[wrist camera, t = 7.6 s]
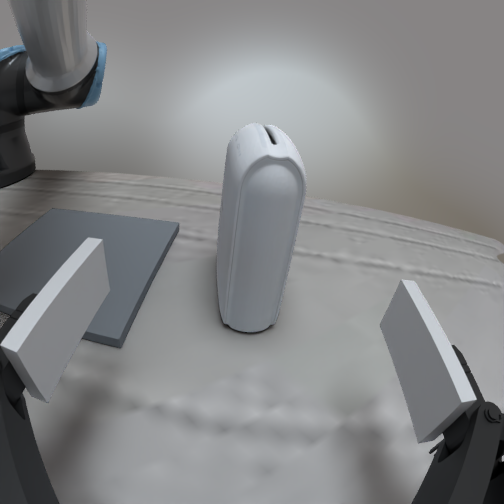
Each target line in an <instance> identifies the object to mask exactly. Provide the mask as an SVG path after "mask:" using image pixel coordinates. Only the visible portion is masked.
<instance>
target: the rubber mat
mask: <svg viewBox="0 0 504 504" xmlns="http://www.w3.org/2000/svg"><path fill="white" fill-rule="evenodd" d="M178 231H179V223H178V222H170V221H162V220H153V219H145V218H137V217H128V216H119V215H110V214H102V213H92V212H83V211H74V210H64V209H55V208H52V209H51V210H49V211H48V212H47V213H45V214H44V215H43V216H42V217H40V218H39V219H38V220H36V221H35V222H34V223H33V224H32V225H30V226H29V227H28V228H27V229H25V230H24V231H23V232H22V233H21V234H19V235H18V236H17V237H16V238H15V239H14V240H12V241H11V242H10V243H9V244H8V245H7V246H6V247H4V248H3V249H2V250H1V251H0V311H1V312H3V313H6V314H9V315H11V314H12V313H13V312H14V311H16V308H17V307H18V305H19V304H20V303H21V302H22V300H24V299H25V298H26V297H28V296H29V295H31V294H32V293H35V294H39V292H40V291H41V290H42V289H43V287H44V286H45V285H46V284H47V283H48V282H49V280H50V279H51V278H52V277H53V276H54V274H55V273H56V272H57V271H58V270H59V269H60V268H61V266H62V265H63V264H64V263H65V262H66V261H67V260H68V259H69V257H70V256H71V255H72V254H73V253H74V252H75V251H76V250H77V249H78V248H79V247H80V245H81V244H82V243H83V242H84V241H85V240H86V239H87V238H88V237H89V238H96V239H103V245H104V253H105V261H106V268H107V274H108V280H109V287H110V291H109V293H108V294H107V296H106V298H105V299H104V301H103V303H102V304H101V306H100V307H99V309H98V311H97V312H96V314H95V316H94V318H93V319H92V321H91V323H90V324H89V326H88V328H87V330H86V331H85V333H84V335H83V337H82V338H83V339H87V340H91V341H95V342H98V343H102V344H106V345H110V346H115V347H119V348H121V347H122V345H123V342H124V340H125V338H126V336H127V334H128V331H129V329H130V327H131V325H132V323H133V320H134V318H135V316H136V314H137V312H138V310H139V308H140V306H141V304H142V301H143V299H144V297H145V295H146V293H147V291H148V289H149V287H150V285H151V283H152V281H153V279H154V277H155V275H156V273H157V271H158V269H159V267H160V265H161V263H162V261H163V259H164V257H165V255H166V253H167V252H168V250H169V248H170V246H171V244H172V242H173V240H174V238H175V236H176V235H177V233H178Z"/></svg>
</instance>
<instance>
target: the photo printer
mask: <svg viewBox="0 0 504 504" xmlns="http://www.w3.org/2000/svg"><path fill="white" fill-rule="evenodd" d="M305 195H306V172H305V169H304V165H303V162H302V159H301V157H300V154H299V152H298V150H297V148H296V147H295V145H294V144H293V142H292V141H291V139H290V138H289V137H288V136H287V135H286V134H285V133H284V132H283V131H282V130H280V129H279V128H277V127H276V126H274V125H264V126H262V125H260V124H257V123H252V124H249V125H247V126H244V127H242V128H241V129H240V130H238V131H237V132H236V133H235V134H234V136H233V137H232V138H231V140H230V142H229V144H228V147H227V155H226V162H225V171H224V180H223V190H222V199H221V208H220V218H219V229H218V243H217V266H216V268H217V289H218V299H219V308H220V313H221V317H222V320H223V323H224V324H229V326H230V327H231V328H233V329H235V330H238V331H243V332H258V331H262V330H264V329H266V328H268V327H269V325H274V324H275V322H276V320H277V317H278V314H279V310H280V306H281V302H282V297H283V293H284V289H285V285H286V280H287V276H288V272H289V268H290V263H291V259H292V254H293V250H294V246H295V241H296V237H297V232H298V228H299V223H300V218H301V214H302V209H303V205H304V200H305Z"/></svg>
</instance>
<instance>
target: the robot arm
mask: <svg viewBox="0 0 504 504" xmlns="http://www.w3.org/2000/svg"><path fill="white" fill-rule="evenodd" d="M8 3H9V6H10V9H11V12H12V14H13V17H14V20H15V23H16V26H17V28H18V31H19V33H20V36H21V38H22V41H23V43H24V45H17V46H12V47H10V48H4V49H1V50H0V187H3V186H6V185H9V184H11V183H14V182H16V181H19V180H21V179H23V178H25V177H27V176H28V175H30V174H31V173H33V172H34V170H35V168H36V167H35V157H34V155H33V154H32V153H31V149H30V146H29V142H28V139H27V136H26V133H25V125H24V116H25V115H30V114H35V113H41V112H48V111H55V110H63V109H72V108H77V109H80V108H82V107H87V106H92V105H94V104H95V103H97V101H98V100H99V97H100V93H101V88H102V81H103V77H104V70H105V63H106V54H107V47H106V44H105V43H99V42H96V41H95V39H94V38H93V37H92V35H91V34H90V33H88V32H87V20H86V19H87V17H86V16H87V15H86V11H87V7H86V5H87V0H8ZM109 291H110V287H109V280H108V274H107V268H106V261H105V253H104V245H103V239H96V238H89V237H88V238H87V239H86V240H85V241H84V242H83V243H82V244H81V245H80V247H79V248H78V249H77V250H76V251H75V252H74V253H73V254H72V255H71V256H70V257H69V259H68V260H67V261H66V262H65V263H64V264H63V265H62V266H61V268H60V269H59V270H58V271H57V272H56V273H55V274H54V276H53V277H52V278H51V279H50V280H49V282H48V283H47V284H46V285H45V286H44V287H43V289H42V290H41V291H40V292H39V294H35V293H32V294H31V295H29V296H28V297H26V298H25V299H24V300H22V302H21V303H20V304H19V305H18V307H17V308H16V311H14V312H13V313H12V314H11V315H10V318H8V319H7V321H6V322H5V323H4V325H3V326H2V327H1V329H0V504H59V502H58V500H57V497H56V495H55V493H54V490H53V488H52V485H51V483H50V480H49V478H48V475H47V473H46V470H45V467H44V464H43V462H42V459H41V456H40V453H39V450H38V447H37V443H36V440H35V437H34V433H33V430H32V426H31V422H30V418H29V414H28V410H27V406H26V401H25V398H24V396H23V394H22V393H23V391H24V389H25V387H26V389H27V390H28V392H29V393H30V395H31V396H32V397H35V398H37V399H39V400H41V401H44V402H46V403H48V402H49V400H50V398H51V395H52V393H53V391H54V389H55V387H56V385H57V383H58V381H59V379H60V377H61V375H62V373H63V372H64V370H65V368H66V366H67V364H68V362H69V360H70V358H71V356H72V355H73V353H74V351H75V349H76V347H77V345H78V344H79V342H80V340H81V338H82V337H83V335H84V333H85V331H86V330H87V328H88V326H89V324H90V323H91V321H92V319H93V318H94V316H95V314H96V312H97V311H98V309H99V307H100V306H101V304H102V303H103V301H104V299H105V298H106V296H107V294H108V293H109ZM380 327H381V330H382V333H383V335H384V338H385V341H386V343H387V346H388V349H389V352H390V355H391V357H392V360H393V363H394V366H395V369H396V372H397V375H398V378H399V381H400V384H401V387H402V390H403V393H404V396H405V400H406V403H407V406H408V409H409V413H410V416H411V420H412V423H413V427H414V430H415V434H416V437H417V441H418V443H423V442H428V441H433V440H435V439H436V438H437V437H438V436H439V435H440V434H442V433H443V435H444V439H443V440H442V441H441V442H439V443H438V444H437V445H436V446H435V447H433V448H432V449H431V450H430V452H429V453H430V454H431V453H433V452H434V451H435V450H436V449H437V452H436V454H434V459H433V461H432V463H431V465H430V468H429V470H428V472H427V474H426V476H425V478H424V480H423V482H422V484H421V486H420V488H419V490H418V492H417V494H416V496H415V498H414V500H413V502H412V504H504V461H503V462H502V456H503V455H504V414H502V413H501V411H500V409H499V408H498V406H496V405H495V404H494V403H492V402H485V400H484V398H483V396H482V394H481V392H480V390H479V387H478V385H477V383H476V381H475V379H474V377H473V375H472V373H471V371H470V368H469V366H467V362H466V360H465V359H464V357H463V355H462V353H461V352H460V351H459V350H458V349H457V348H456V347H455V345H451V344H450V342H449V340H448V338H447V337H446V335H445V333H444V331H443V329H442V327H441V325H440V324H439V322H438V320H437V318H436V316H435V315H434V313H433V311H432V309H431V308H430V306H429V304H428V303H427V301H426V299H425V298H424V296H423V294H422V292H421V291H420V289H419V288H418V286H417V284H416V283H415V281H409V280H401V281H400V283H399V285H398V288H397V290H396V292H395V294H394V296H393V298H392V301H391V303H390V305H389V307H388V309H387V311H386V313H385V315H384V317H383V319H382V321H381V323H380Z"/></svg>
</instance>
